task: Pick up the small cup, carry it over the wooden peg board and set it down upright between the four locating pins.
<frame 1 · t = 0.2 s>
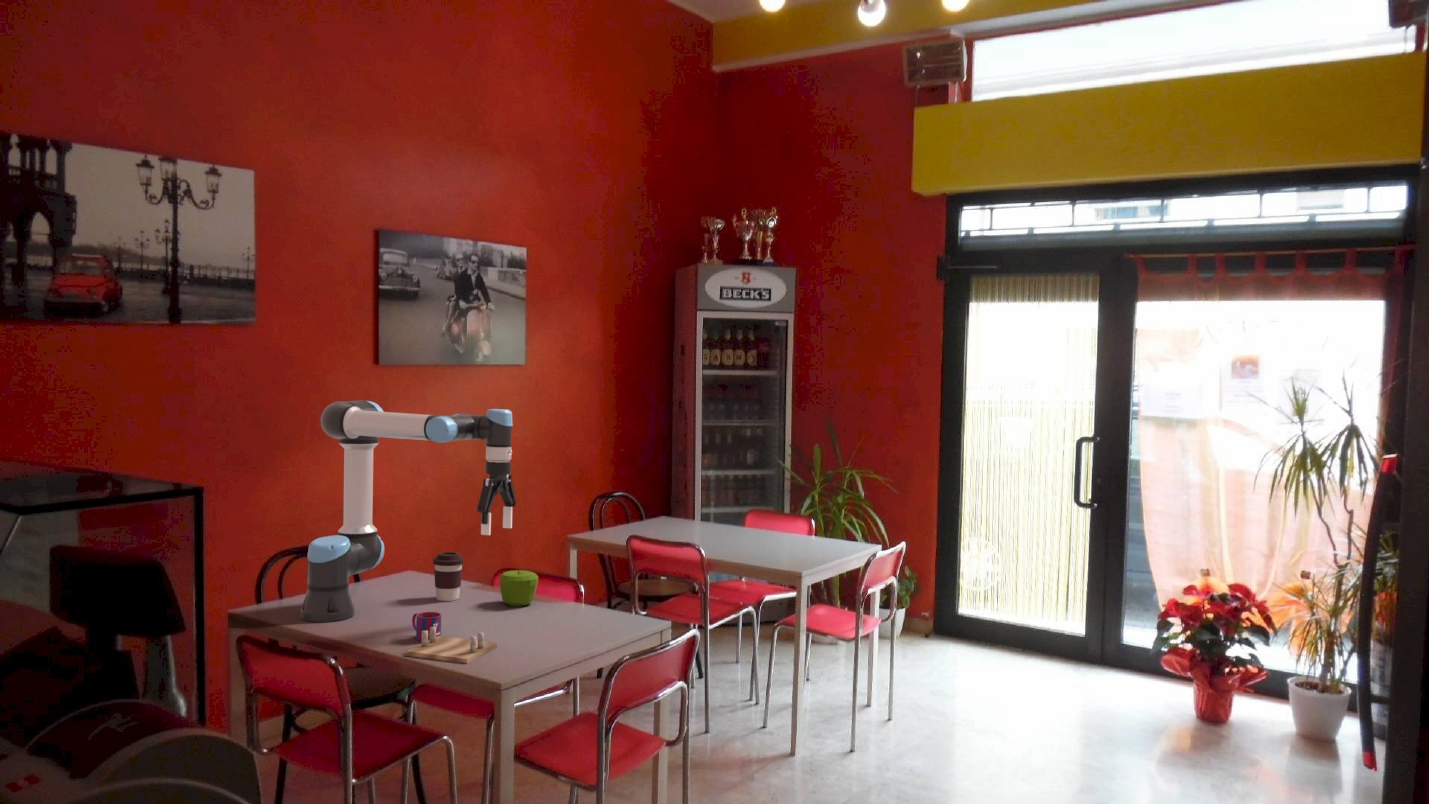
hand: (496, 531, 293), 28 cm above the table, fingers open, 13 cm apart
cup: (425, 638, 276), on the table
wooden peg board: (452, 651, 263), on the table
coffee cup: (447, 599, 321), on the table
apple: (518, 604, 318), on the table
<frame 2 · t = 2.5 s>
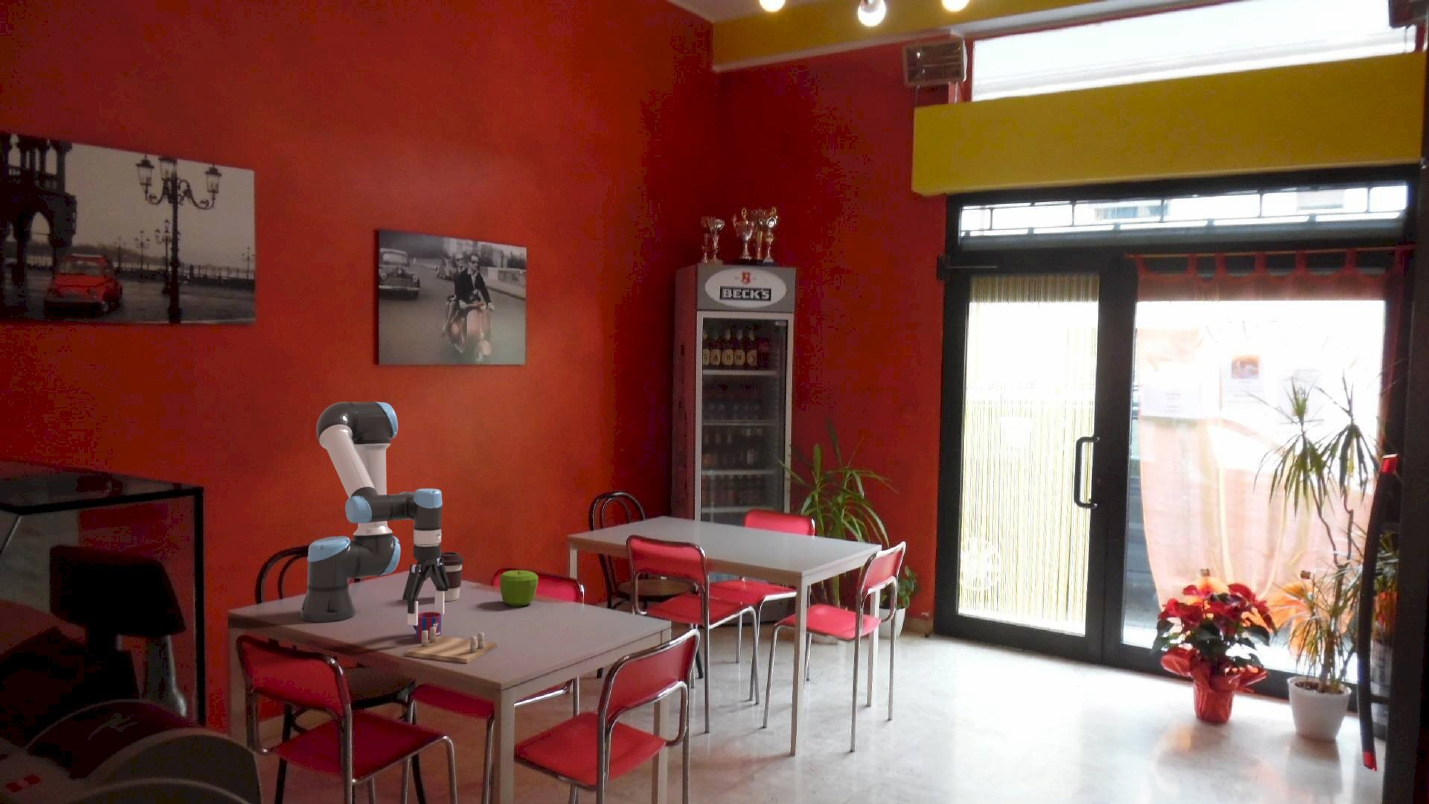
hand: (426, 619, 275), 5 cm above the table, fingers open, 13 cm apart
nothing on the table moved.
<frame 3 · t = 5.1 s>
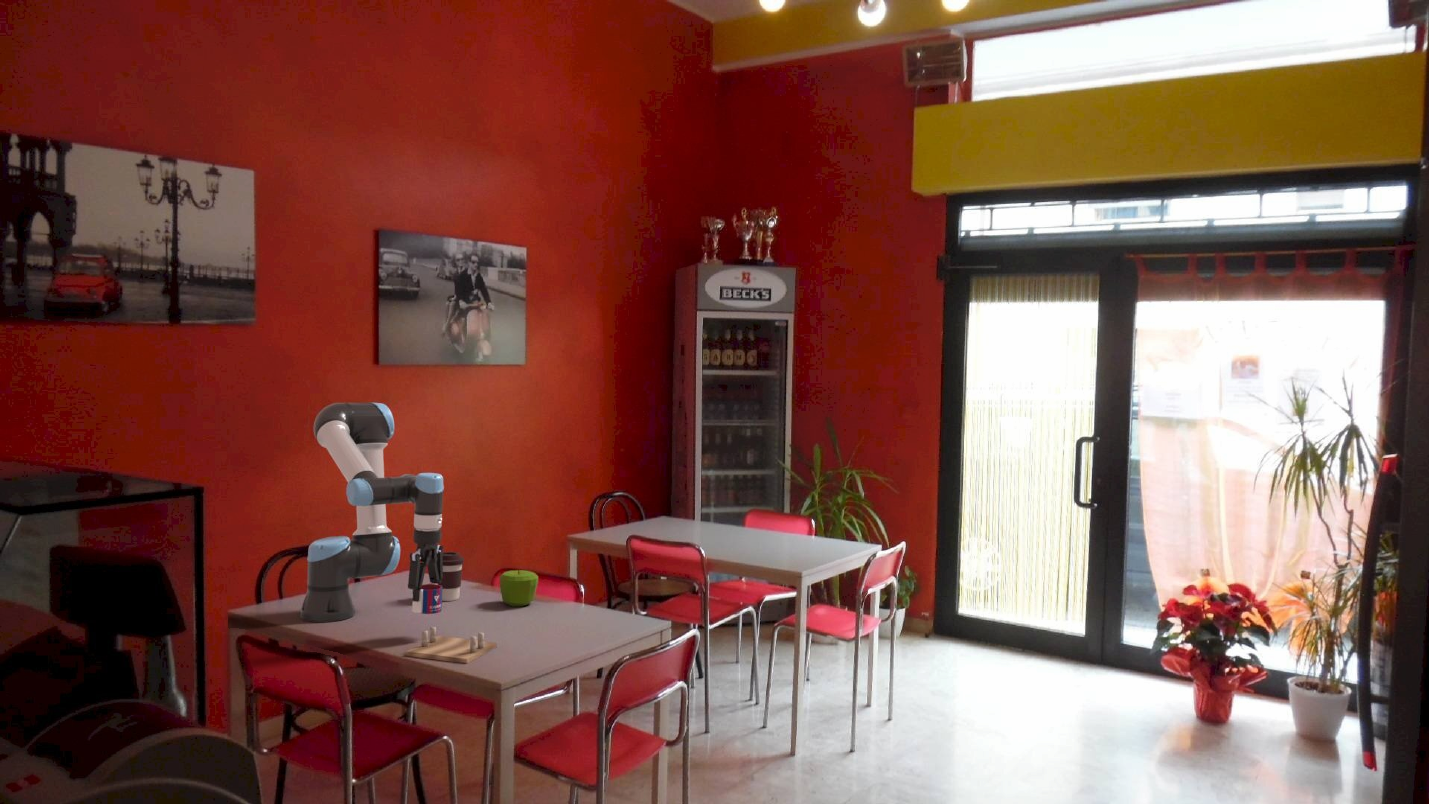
hand: (424, 608, 276), 8 cm above the table, fingers closed on cup, 7 cm apart
cup: (425, 610, 277), point 7 cm above the table, touching gripper
everything else where it was.
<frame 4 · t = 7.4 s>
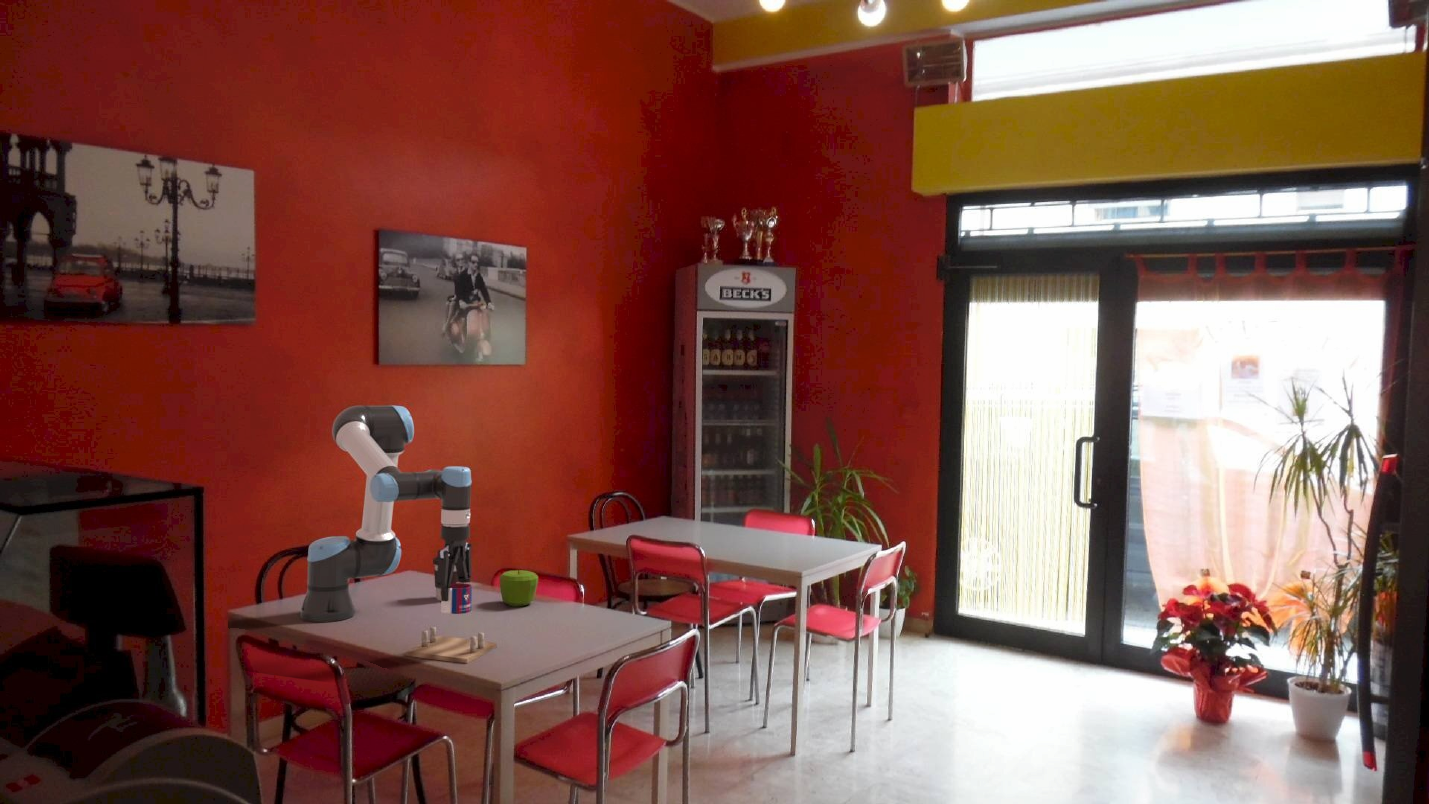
hand: (453, 609, 263), 11 cm above the table, fingers closed on cup, 7 cm apart
cup: (454, 610, 264), point 11 cm above the table, touching gripper
everything else where it was.
when the fingers open (2 cm above the table, at t = 9.8 s): cup stays where it is, resting on wooden peg board.
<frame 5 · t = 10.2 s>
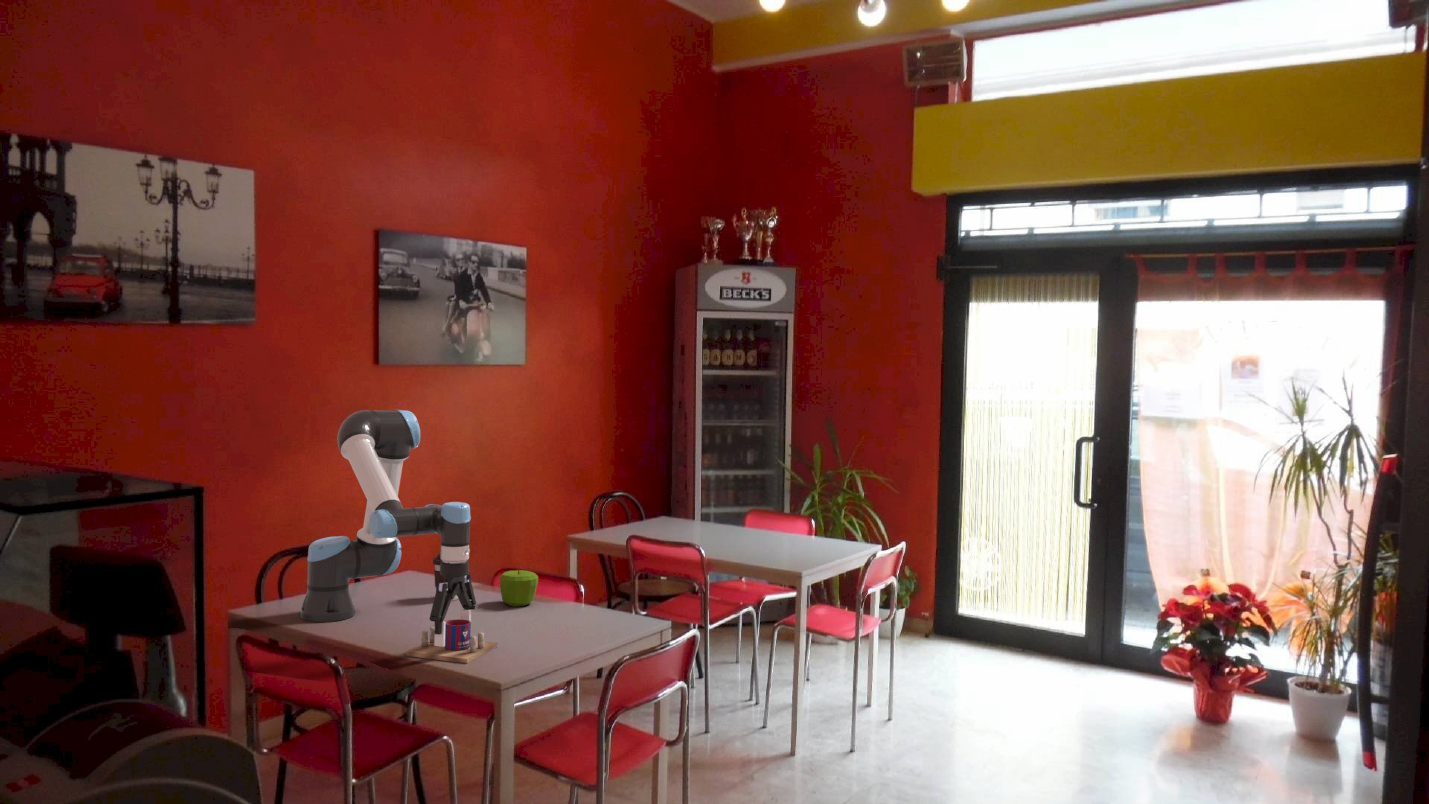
hand: (452, 639, 263), 3 cm above the table, fingers open, 12 cm apart
cup: (453, 646, 264), point 1 cm above the table, touching wooden peg board
everything else where it was.
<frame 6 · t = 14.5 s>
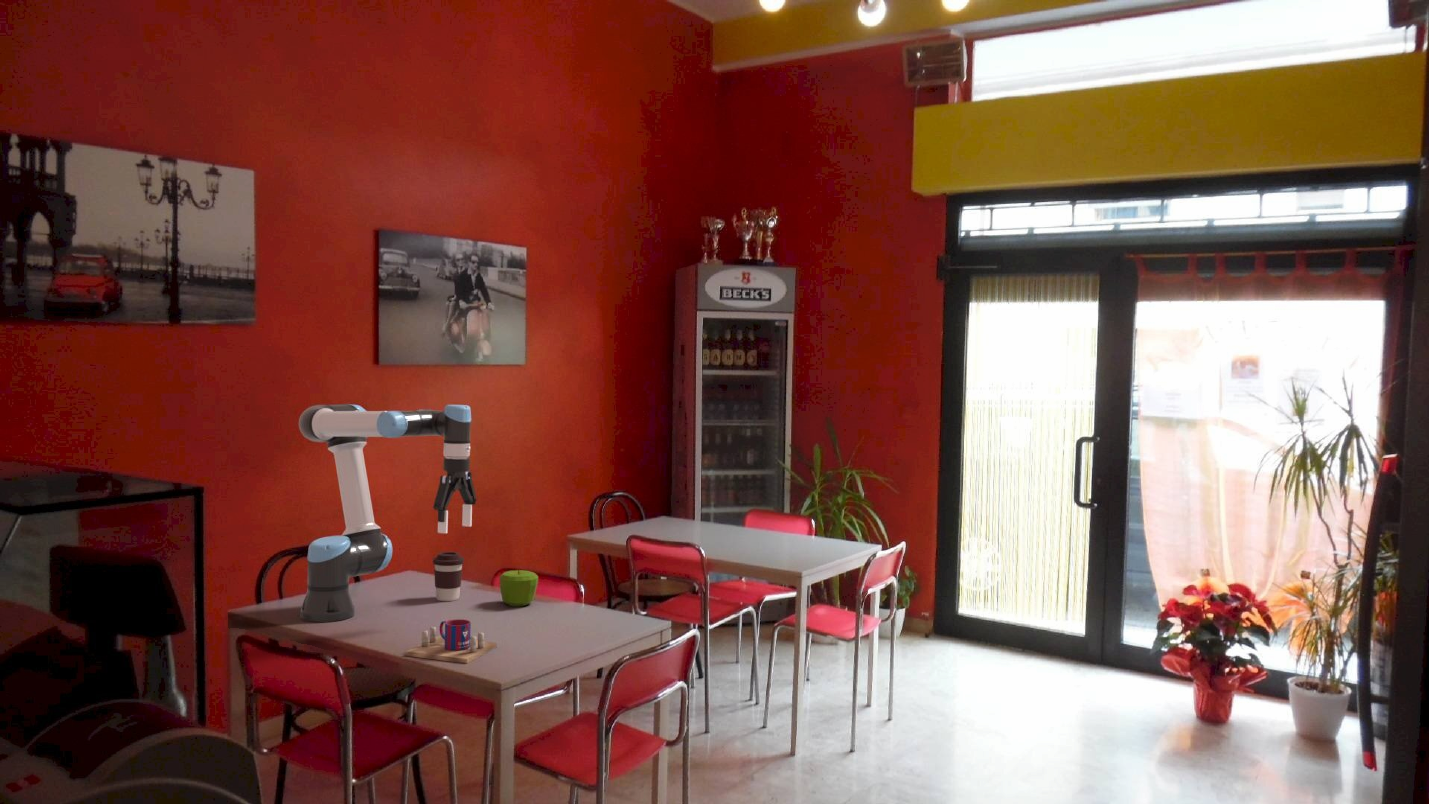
hand: (455, 529, 287), 29 cm above the table, fingers open, 13 cm apart
nothing on the table moved.
at the end: cup inside the target area on the wooden peg board (0.7 cm from its centre), point 1.0 cm above the wooden peg board's base; cup tilted 0°; the gripper is holding nothing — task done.
